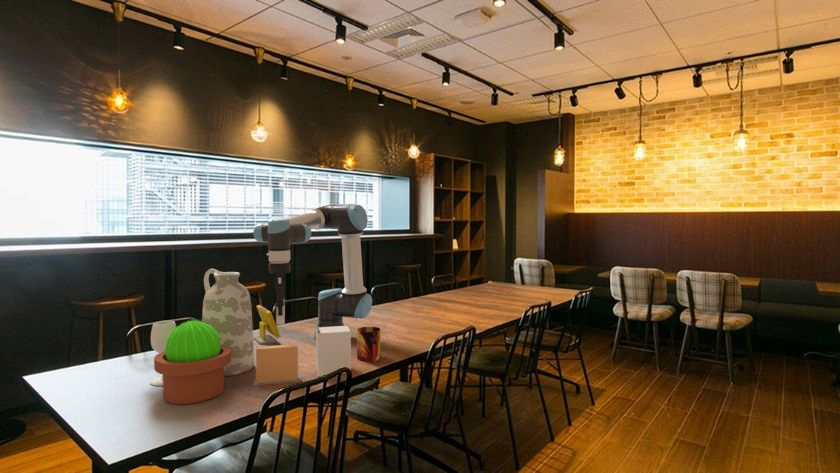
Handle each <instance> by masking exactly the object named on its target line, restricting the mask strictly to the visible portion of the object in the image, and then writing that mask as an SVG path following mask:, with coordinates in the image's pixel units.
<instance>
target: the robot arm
mask: <svg viewBox="0 0 840 473" xmlns="http://www.w3.org/2000/svg"><path fill="white" fill-rule="evenodd" d="M368 219H369V218H368V213H367V211H366V209H365V208H364V207H363V206H362V205H360V204H355V203H339V204H338V203H337V204H336V203H335V204H334V203H333V204H331V203H330V204H327V205H326V204H325V205H323V206H319V207H317V208H312V209H310V210H309V211H308V212H307V213H302V214H300V215H296V216H292V217H291V216H290V217H288V218H285V219H283V218H282V219H281V218H279V219H269V220H268V222H267V223H265V222H264V223H257V224H256V225H255V226H254V228H253V232H252V234H253V238H254V240H255V241H256V242H258V243H264V244H267V243H268V253H266V256H268V261H269V263H268V273H269V274H271V275H276V277H274V280H273V283H274V290H275V291H276V292H275V295H276V296H275V298H276V300H275V301H276V303H274V304H273V307H275V311H276V312H275V314H276V316H275V317H276V319H275V320H276V321H275V324H276V326H280V325H285V320H286V319H285V316H286V314H285V313H286V312H285V311H286V309H285V308H286V307H285V299H286V298H287V294H285V290H286V281H287V280H286V277H285V276H284V275H285V274H289V273H291V262H290V261H291V245H294V244H296V245H297V244H304V243H307V242H309V240H310V239H311V238H312V231H313V230H315V231H318V230H321V229H323V230H324V229H325V230H326V229H327V230H337V235H338V236H339V237H341V246H342V247H341V248H342V251H341V252H342V262H343V263H342V264H343V279H344V288H331V289H330V288H329V289H325V290H321V291H320V292H318V297H317V298H318V299H317V304H318V305H317V308H318V310H317V313H318V315H317V316H318V318H317V320H318V321H317V325H316V326H318V327H334V326H345V323H344V321H343V318H348V319H349V318H350V319H355V320H357V319H361V320H362V319H365V318H367V317H368V315H370V312H371V310H372V306H373V297H372V296H371V294H369V293H368V292H367V291H368V290H367V288H366V287H365V286H364V280H363V279H364V278H363V261H362V260H363V259H362V246H361V242H362V241H361V236H362V235H363V234H364V230H365V229H366V228H367V226H368V221H369V220H368ZM314 339H316V329H315V330H314Z"/></svg>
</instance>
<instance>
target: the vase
mask: <svg viewBox="0 0 840 473" xmlns="http://www.w3.org/2000/svg"><path fill="white" fill-rule="evenodd" d="M211 274H213V278H214V279H215V283H214V284H213V285H212V286H210V281H209V277H210V275H211ZM203 276H204V277H203V285H204V290H205V294H204V298H203V301H202V315H201V316H202V318H201V320H202V322H206V323H208V324H209V325H210V326H212V327H213V328H214V329H215V330H216V332H217V333H218V336H219V337H220V338H221V340H220V342H221V343H220V345H223V346H227V347H229V348H230V349H231V362H230V363H229V364H228V365H226V366H224V377H230V376H232V377H233V376H237V375H240V374H244V373H246V372H248V371H250V370H252V369H253V367H254V366H255V358H254V356H255V355H254V354H255V352H254V351H255V350H254V329H253V328H254V327H253V314H252V312H253V310H252V300H251V295H250V292H249V289H248V288H246V286H245V285H243V284H241V283H240V282H239V277H241V273H240V272H237V271H225V272H224V271H221V270H218V269H215V268H210V269H207V270H206V271H205V273H204V275H203Z"/></svg>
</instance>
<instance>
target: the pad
mask: <svg viewBox="0 0 840 473" xmlns="http://www.w3.org/2000/svg"><path fill="white" fill-rule="evenodd" d="M301 377H302V375H301V374H298V379H297V380H287V381H276V382H265V383H256V378H254V380H253V387H255V386H264V385H274V384H275V385H277V384H286V383H296V382H297V383H298V382H302V378H301Z"/></svg>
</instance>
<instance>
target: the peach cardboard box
mask: <svg viewBox="0 0 840 473" xmlns="http://www.w3.org/2000/svg"><path fill="white" fill-rule="evenodd" d="M255 354H256V355H255V357H256V358H255V359H256V360H255V362H256V363H255V364H256V365H255V366H256V368H255V370H256V374H255V375H256V377H255V379H256V383H265V382H276V381H287V380H297V379H298V375H299V345H298V343H295V344H280V345H267V346H256V351H255Z"/></svg>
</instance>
